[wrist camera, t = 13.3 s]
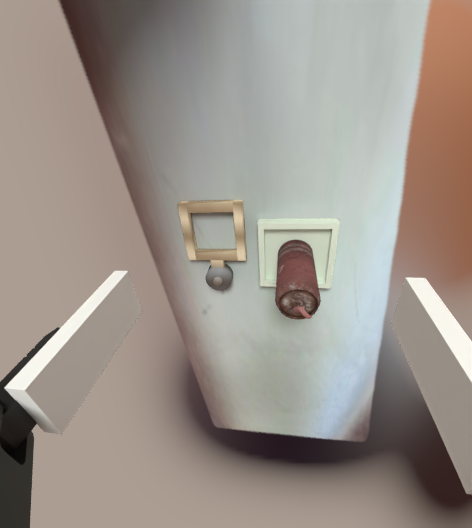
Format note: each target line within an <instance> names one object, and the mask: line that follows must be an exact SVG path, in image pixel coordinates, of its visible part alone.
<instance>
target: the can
mask: <svg viewBox="0 0 472 528" xmlns="http://www.w3.org/2000/svg"><path fill="white" fill-rule="evenodd" d="M275 301H276V305H277V307H278V308H279V310H280V311H281V313H282V314H284V315H285V316H286V317H289V318H291V319H305V318H307V319H309V318H311V317H312V315H313V314H315V312H316V311H317V309H318V307H319V305H320V301H321V300H320V294H319V287H318V281H317V275H316V269H315V263H314V257H313V250H312V248H311V247H310V245H309V244H308V243H306V242H304V241H302V240H289V241H287V242H285V243H284V244H283V245H282V246H281V247H280V249H279V250H278V260H277V279H276V298H275Z"/></svg>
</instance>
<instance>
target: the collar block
mask: <svg viewBox="0 0 472 528" xmlns="http://www.w3.org/2000/svg"><path fill="white" fill-rule="evenodd" d="M177 205H178V210H179V215H180V220H181V225H182V230H183V234H184V239H185V244H186V249H187V254H188V259H189V260H211V266H210V268H209V270H208V272H207V275H206V282H207V284H208V285H209V286H210V287H211V288H213V289H215V290H225V289H227V288H228V287H229V286H230V284H231V281H232V277H233V271H232V269H231V268H230V267H229V266H228V265H227V264H225V260H233V261H246V258H247V252H246V237H245V222H244V208H243V200H213V201H180V202H179V203H178V204H177ZM206 212H233V214H234V225H235V236H236V247H237V249H197V244H196V239H195V233H194V228H193V222H192V217H191V213H206Z"/></svg>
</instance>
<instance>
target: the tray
mask: <svg viewBox="0 0 472 528" xmlns="http://www.w3.org/2000/svg"><path fill="white" fill-rule="evenodd" d="M339 226H340V222H339V220H338V218H306V219H259V220H258V246H259V271H260V286H268V287H276V279H277V260H278V250H279V249H280V247H281V246H282V245H283V244H284V243H285V242H287V241H289V240H302V241H304V242H306V243H308V244H309V245H310V247H311V248H312V250H313V257H314V263H315V269H316V275H317V281H318V287H319V288H331V284H332V277H333V270H334V263H335V255H336V248H337V241H338V234H339Z"/></svg>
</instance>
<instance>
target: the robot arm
mask: <svg viewBox="0 0 472 528" xmlns="http://www.w3.org/2000/svg"><path fill="white" fill-rule="evenodd" d="M141 312H142V309H141V306H140V303H139V300H138V298H137V295H136V292H135V289H134V286H133V283H132V281H131V278H130V275H129V272H128V271H114V272H113V273H112V274H111V275H110V276H109V277H108V279H107V280H106V281H105V282H104V283H103V284H102V285H101V286H100V287H99V288H98V289H97V290H96V291H95V292H94V293H93V294H92V295H91V296H90V298H89V299H88V300H87V301H86V302H85V303H84V304H83V305H82V306H81V307H80V308H79V309H78V310H77V311H76V312H75V313H74V314H73V316H72V317H71V318H70V319H69V320H68V321H67V322H66V323H65V324H64V325H63V326H62V327H61V328H56V329H55V330H54V331H52V332H50V333H49V334H48V335H46V336H45V337H44V338H43V339H42V340H41V341H40V342H39V343H38V344H37V345H36V346H35V348H34V349H32V350H31V351H30V352H29V353H28V354H27V357H24V358H23V359H22V360H21V361H20V362H19V363H18V364H17V366H15V367H14V369H12V370H11V372H10V373H9V374H8V375H7V376H6V377H5V378H4V379H3V380H2V381H1V382H0V528H30V510H31V509H30V508H31V488H32V467H33V447H34V436H33V433H32V432H31V430H32V429H33V427H34V426H35V425H36V424H38V425H39V427H40V428H41V429H42V430H43V431H44V432H50V433H56V434H63V432H64V431H65V429H66V428H67V426H68V425H69V423H70V421H71V420H72V418H73V417H74V415H75V414H76V412H77V411H78V409H79V408H80V406H81V405H82V403H83V401H84V400H85V398H86V397H87V395H88V394H89V392H90V391H91V389H92V388H93V386H94V384H95V383H96V382H97V380H98V378H99V377H100V375H101V374H102V372H103V371H104V369H105V367H106V366H107V365H108V363H109V362H110V360H111V358H112V357H113V355H114V354H115V352H116V351H117V349H118V348H119V346H120V344H121V343H122V341H123V340H124V338H125V337H126V335H127V334H128V332H129V331H130V329H131V327H132V326H133V324H134V323H135V321H136V320H137V318H138V317H139V315H140V314H141ZM391 325H392V327H393V329H394V332H395V334H396V336H397V338H398V341H399V343H400V345H401V347H402V350H403V352H404V354H405V356H406V359H407V361H408V363H409V365H410V368H411V370H412V372H413V374H414V376H415V379H416V381H417V383H418V386H419V388H420V390H421V392H422V394H423V397H424V399H425V401H426V403H427V406H428V408H429V410H430V413H431V415H432V417H433V419H434V422H435V423H436V426H437V428H438V430H439V433H440V435H441V437H442V439H443V442H444V444H445V446H446V448H447V451H448V453H449V455H450V457H451V460H452V462H453V464H454V466H455V469H456V471H457V473H458V475H459V478H460V480H461V482H462V484H463V487H464V489H465V491H466V493H467V494H472V341H471V340H470V339H469V337H468V336H467V335H466V333H465V332H464V330H463V329H462V328H461V326H460V325H459V324H458V322H457V321H456V320H455V318H454V317H453V315H452V314H451V313H450V311H449V310H448V309H447V307H446V306H445V305H444V303H443V302H442V300H441V299H440V298H439V296H438V295H437V294H436V292H435V291H434V290H433V288H432V287H431V285H430V284H429V283H428V281H427V280H426V279H425V278H405V281H404V284H403V287H402V291H401V294H400V297H399V300H398V304H397V306H396V309H395V312H394V315H393V319H392V322H391Z"/></svg>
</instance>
